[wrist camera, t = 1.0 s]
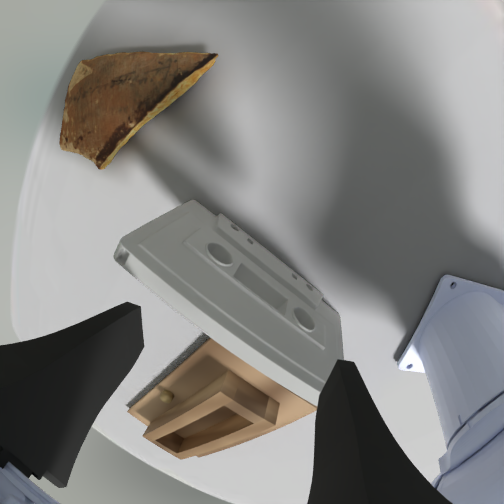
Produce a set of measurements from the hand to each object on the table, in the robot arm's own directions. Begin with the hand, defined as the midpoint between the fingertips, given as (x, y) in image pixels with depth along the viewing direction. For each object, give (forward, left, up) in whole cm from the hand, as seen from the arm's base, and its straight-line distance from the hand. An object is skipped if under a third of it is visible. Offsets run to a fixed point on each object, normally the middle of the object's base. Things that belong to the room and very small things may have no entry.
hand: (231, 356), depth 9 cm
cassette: (0, 0, -9) cm, 9 cm away
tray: (+3, +18, -8) cm, 20 cm away
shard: (+8, -13, -10) cm, 18 cm away
